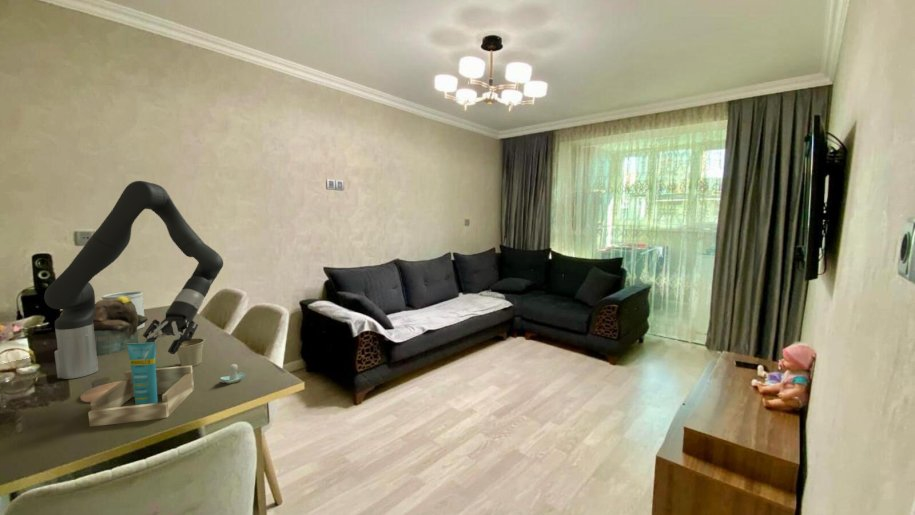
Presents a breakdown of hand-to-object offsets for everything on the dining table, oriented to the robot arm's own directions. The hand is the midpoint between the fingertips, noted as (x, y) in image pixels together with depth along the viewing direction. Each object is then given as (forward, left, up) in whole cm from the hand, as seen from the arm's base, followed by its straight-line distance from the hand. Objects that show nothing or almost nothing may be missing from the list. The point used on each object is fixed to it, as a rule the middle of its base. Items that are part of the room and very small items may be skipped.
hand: (157, 352), depth 111 cm
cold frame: (-2, -5, -14) cm, 15 cm away
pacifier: (+17, +8, -15) cm, 24 cm away
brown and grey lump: (-43, +55, -15) cm, 72 cm away
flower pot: (-3, +27, -15) cm, 31 cm away
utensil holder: (-53, +85, -15) cm, 102 cm away
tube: (-2, -5, -15) cm, 15 cm away
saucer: (-18, +8, -14) cm, 24 cm away
